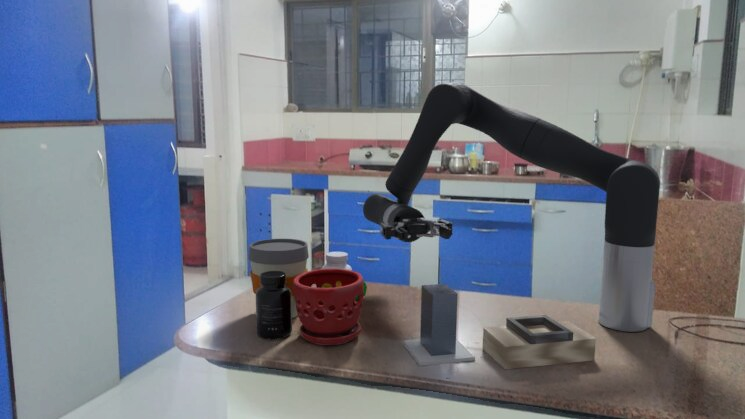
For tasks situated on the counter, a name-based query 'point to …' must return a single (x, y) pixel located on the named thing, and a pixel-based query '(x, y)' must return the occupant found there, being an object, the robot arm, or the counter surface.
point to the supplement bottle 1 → (273, 306)
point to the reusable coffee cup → (278, 261)
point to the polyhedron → (364, 290)
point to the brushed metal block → (438, 319)
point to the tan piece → (537, 342)
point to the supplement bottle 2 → (336, 264)
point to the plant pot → (329, 305)
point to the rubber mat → (426, 359)
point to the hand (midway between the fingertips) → (427, 235)
